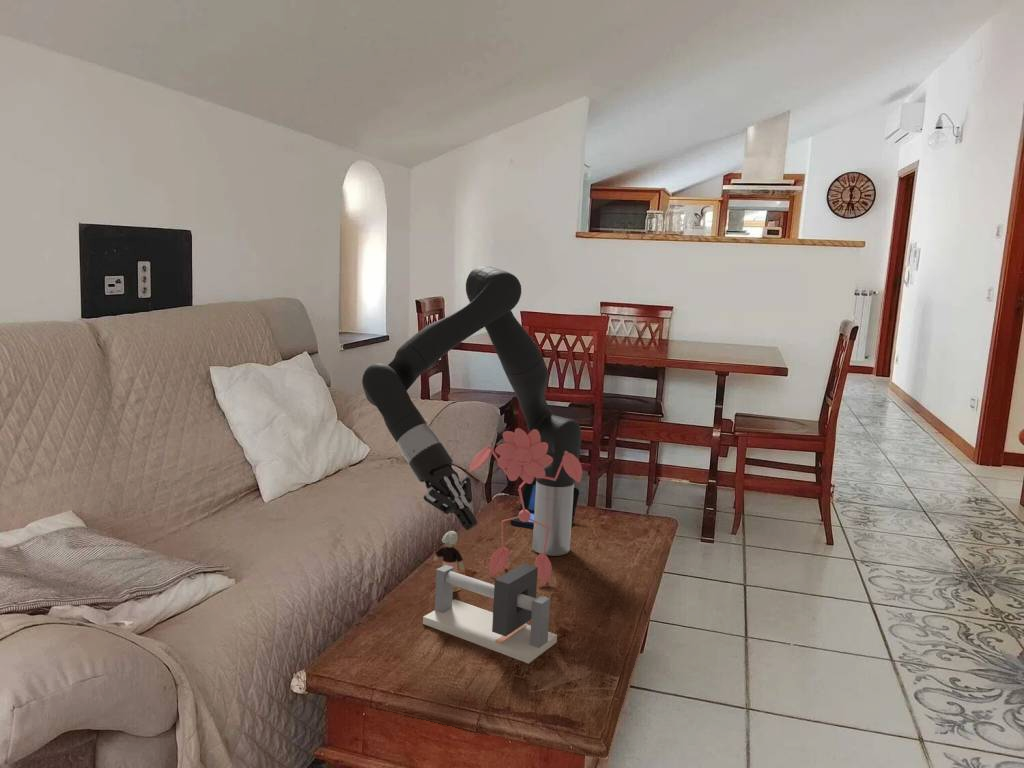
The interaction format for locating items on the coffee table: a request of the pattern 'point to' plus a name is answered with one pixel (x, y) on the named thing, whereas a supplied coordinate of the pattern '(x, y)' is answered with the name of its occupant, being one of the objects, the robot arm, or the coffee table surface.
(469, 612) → the pipe stand
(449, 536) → the grandmother figurine
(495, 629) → the grey plate with hole
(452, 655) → the coffee table surface
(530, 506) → the handheld game console
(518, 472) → the flower
